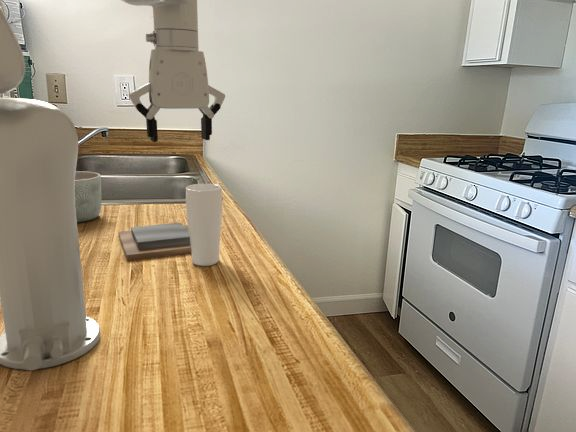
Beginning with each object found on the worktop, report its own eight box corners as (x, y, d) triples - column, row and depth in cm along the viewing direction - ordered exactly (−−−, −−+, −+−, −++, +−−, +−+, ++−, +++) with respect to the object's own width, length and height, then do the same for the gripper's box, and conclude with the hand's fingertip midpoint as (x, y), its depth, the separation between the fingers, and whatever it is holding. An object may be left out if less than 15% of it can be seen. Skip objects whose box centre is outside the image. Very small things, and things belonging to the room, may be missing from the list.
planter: (45, 216, 122) (40, 174, 119) (95, 209, 129) (92, 169, 126) (57, 228, 112) (52, 182, 109) (110, 220, 120) (107, 177, 117)
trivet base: (207, 251, 100) (207, 238, 99) (127, 260, 93) (126, 247, 93) (189, 229, 114) (189, 218, 113) (118, 236, 107) (117, 225, 107)
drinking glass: (180, 264, 92) (177, 188, 88) (202, 253, 98) (200, 182, 94) (209, 271, 89) (207, 192, 85) (229, 260, 95) (229, 186, 91)
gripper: (128, 38, 77) (135, 144, 82) (230, 44, 85) (231, 141, 89) (122, 41, 84) (128, 139, 88) (217, 46, 91) (218, 136, 96)
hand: (180, 140), depth 89 cm, fingers open, 9 cm apart
